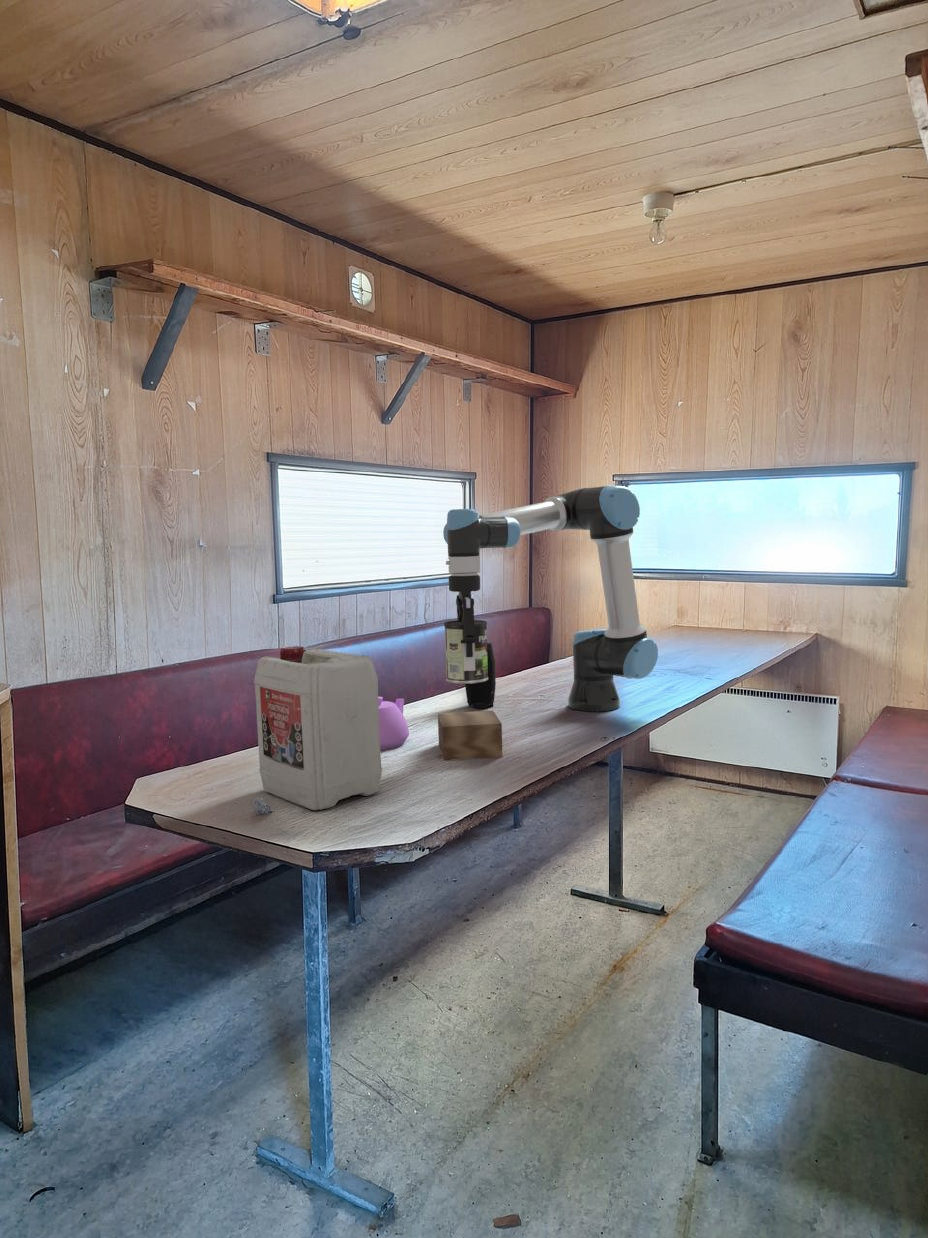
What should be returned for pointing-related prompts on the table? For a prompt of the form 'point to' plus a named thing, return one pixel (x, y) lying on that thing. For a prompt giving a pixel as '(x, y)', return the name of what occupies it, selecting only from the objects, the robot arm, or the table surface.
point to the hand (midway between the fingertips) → (466, 666)
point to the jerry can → (318, 726)
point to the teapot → (392, 724)
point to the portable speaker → (483, 685)
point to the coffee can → (456, 653)
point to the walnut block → (470, 735)
